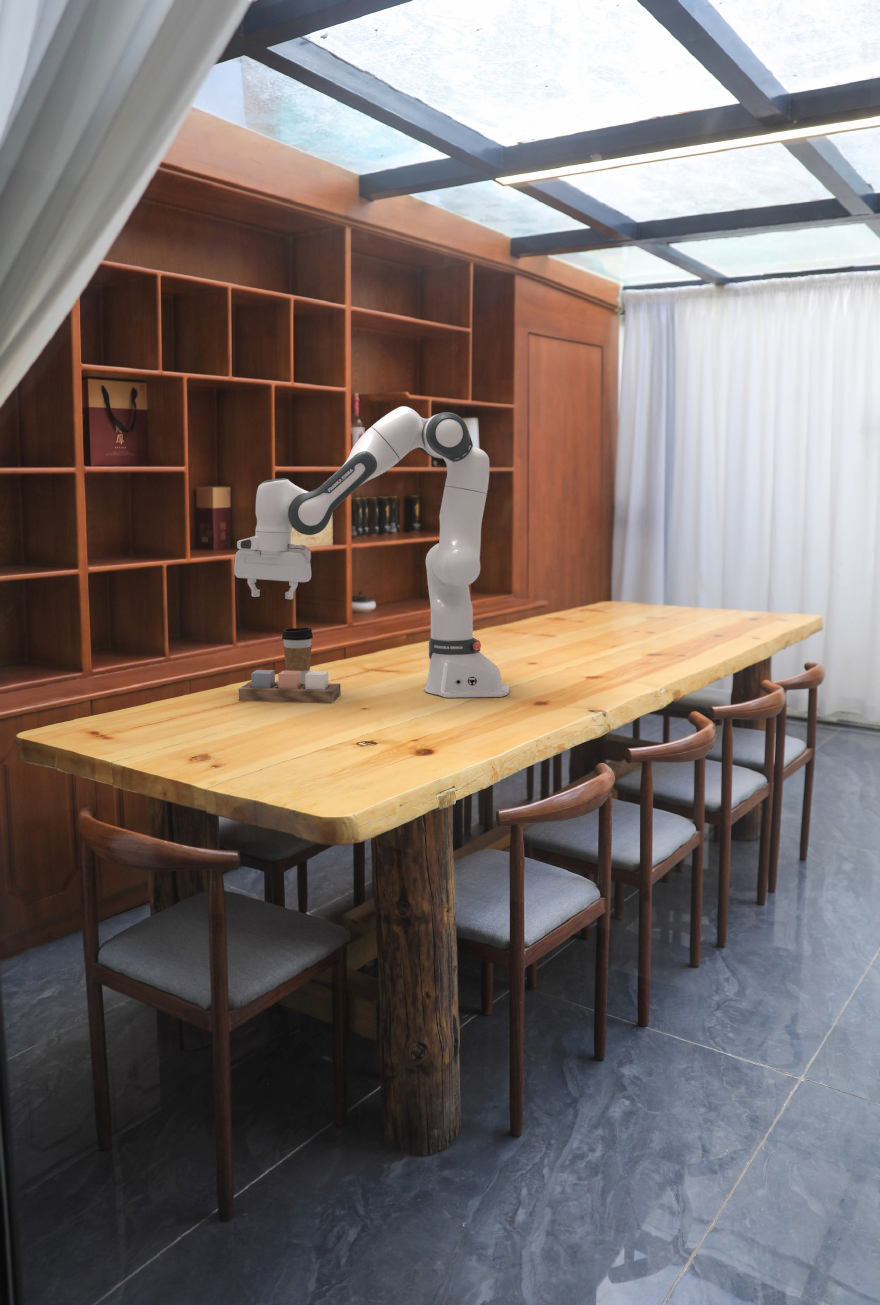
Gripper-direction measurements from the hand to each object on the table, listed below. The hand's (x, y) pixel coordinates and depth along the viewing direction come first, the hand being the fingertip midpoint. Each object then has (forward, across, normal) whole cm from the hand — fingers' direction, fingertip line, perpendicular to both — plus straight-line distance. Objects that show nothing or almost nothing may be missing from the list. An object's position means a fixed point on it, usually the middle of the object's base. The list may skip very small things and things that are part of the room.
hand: (272, 597), depth 259 cm
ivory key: (+22, -13, 0) cm, 26 cm away
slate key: (+23, +1, +2) cm, 23 cm away
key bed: (+25, -6, +1) cm, 26 cm away
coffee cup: (+25, +1, -18) cm, 31 cm away
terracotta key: (+23, -6, +1) cm, 23 cm away
